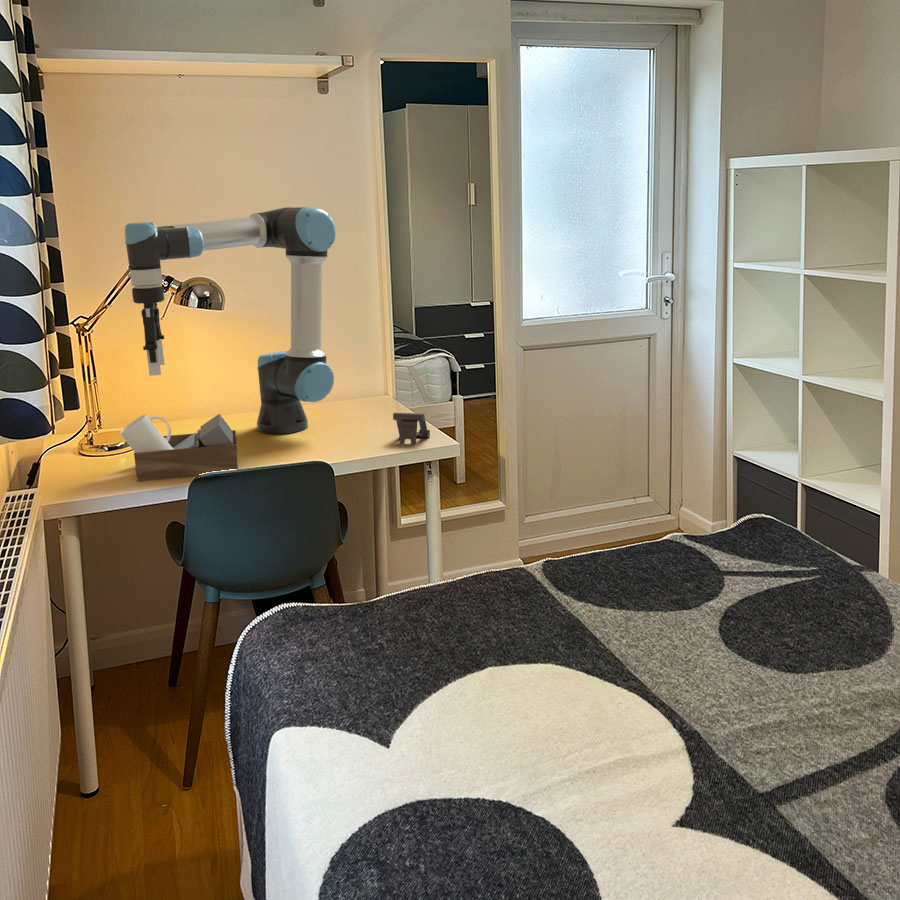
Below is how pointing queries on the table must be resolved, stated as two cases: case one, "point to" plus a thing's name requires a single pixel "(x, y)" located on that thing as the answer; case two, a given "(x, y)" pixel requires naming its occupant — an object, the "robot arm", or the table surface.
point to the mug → (146, 435)
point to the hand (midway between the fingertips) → (157, 370)
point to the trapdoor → (210, 434)
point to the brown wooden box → (185, 459)
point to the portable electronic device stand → (411, 426)
